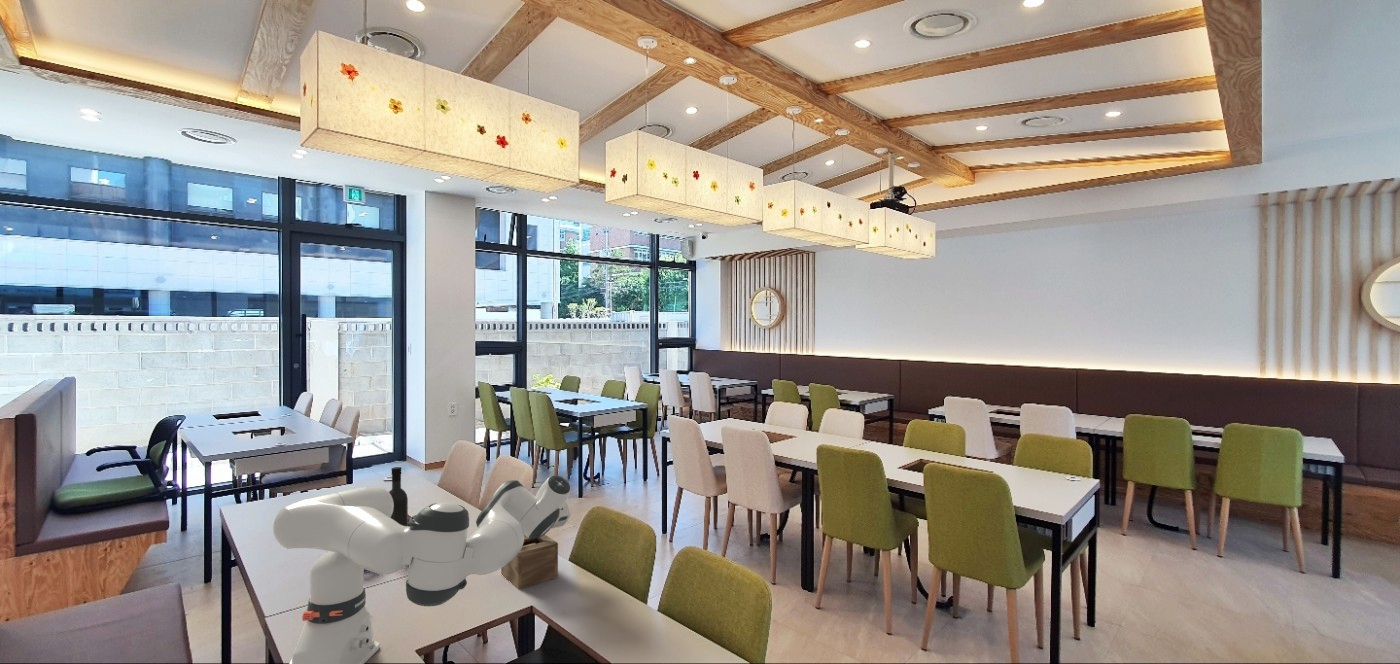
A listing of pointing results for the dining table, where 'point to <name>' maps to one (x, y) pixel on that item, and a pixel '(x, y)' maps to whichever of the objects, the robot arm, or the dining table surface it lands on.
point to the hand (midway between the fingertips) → (528, 535)
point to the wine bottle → (399, 498)
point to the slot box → (533, 563)
